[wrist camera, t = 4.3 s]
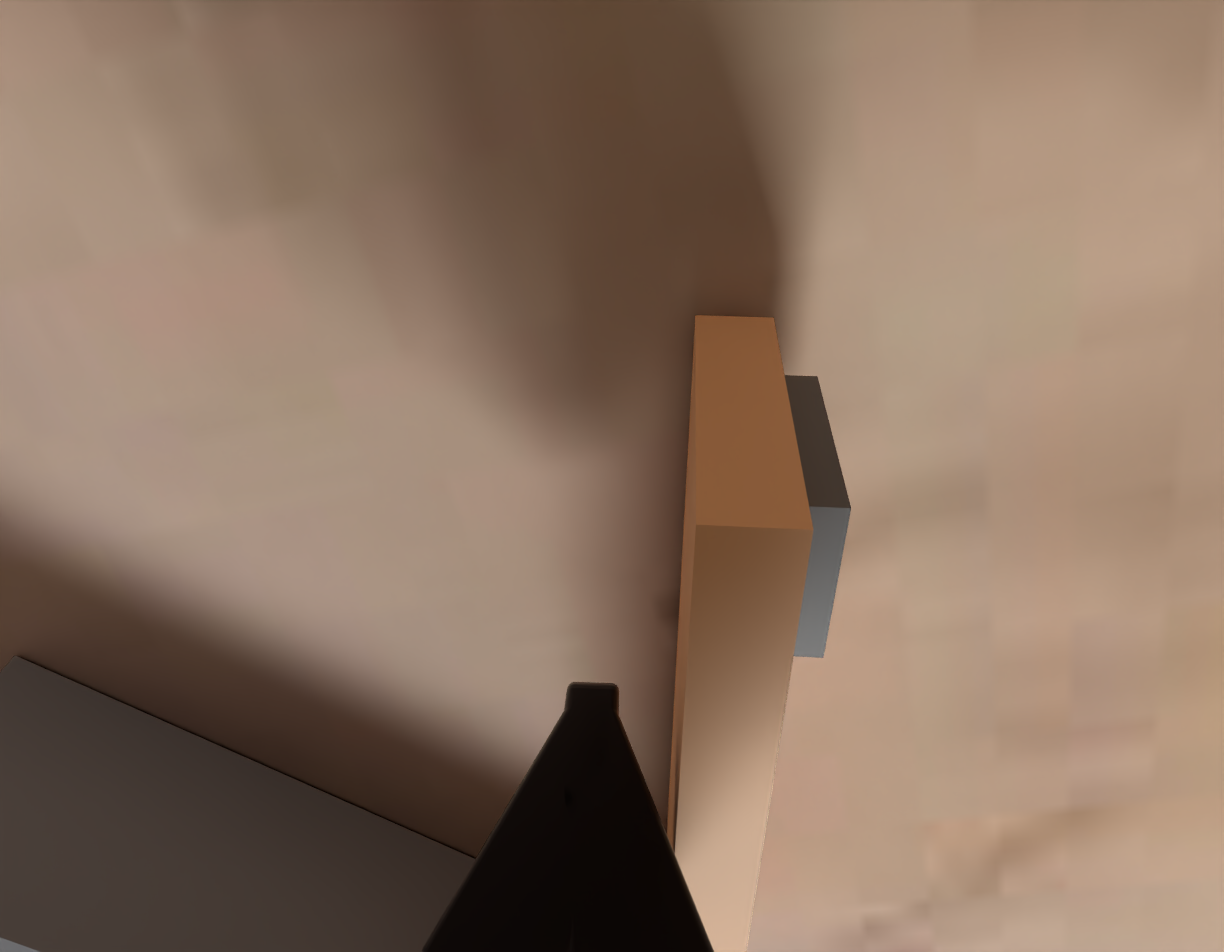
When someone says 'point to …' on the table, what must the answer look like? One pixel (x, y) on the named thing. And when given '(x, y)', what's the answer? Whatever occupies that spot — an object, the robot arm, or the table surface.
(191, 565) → the table surface
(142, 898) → the case
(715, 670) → the case door
